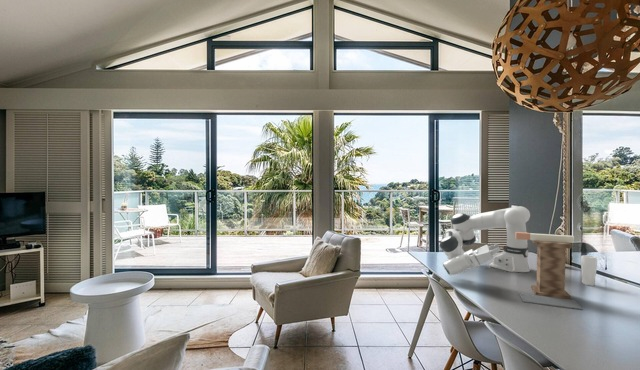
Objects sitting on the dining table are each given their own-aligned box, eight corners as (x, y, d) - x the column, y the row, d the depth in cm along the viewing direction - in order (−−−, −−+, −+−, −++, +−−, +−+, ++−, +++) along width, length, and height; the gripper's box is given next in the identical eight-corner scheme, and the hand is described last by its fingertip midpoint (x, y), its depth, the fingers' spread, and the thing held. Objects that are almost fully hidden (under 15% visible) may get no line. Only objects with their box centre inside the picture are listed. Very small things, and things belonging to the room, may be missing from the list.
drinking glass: (599, 287, 174) (600, 258, 174) (584, 286, 175) (585, 257, 175) (591, 282, 181) (592, 255, 180) (577, 282, 182) (578, 254, 182)
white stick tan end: (516, 239, 168) (516, 232, 168) (515, 238, 171) (515, 231, 171) (574, 243, 158) (574, 236, 158) (572, 241, 161) (572, 235, 161)
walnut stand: (535, 295, 161) (536, 241, 161) (531, 287, 172) (532, 237, 172) (570, 299, 156) (572, 244, 155) (563, 291, 167) (564, 240, 166)
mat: (523, 302, 152) (523, 300, 152) (519, 294, 163) (519, 293, 163) (582, 309, 144) (582, 308, 144) (574, 301, 154) (574, 300, 154)
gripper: (475, 258, 186) (500, 248, 181) (477, 268, 167) (504, 256, 163) (469, 248, 187) (494, 238, 182) (470, 256, 169) (497, 245, 164)
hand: (498, 246), depth 172 cm, fingers open, 8 cm apart
